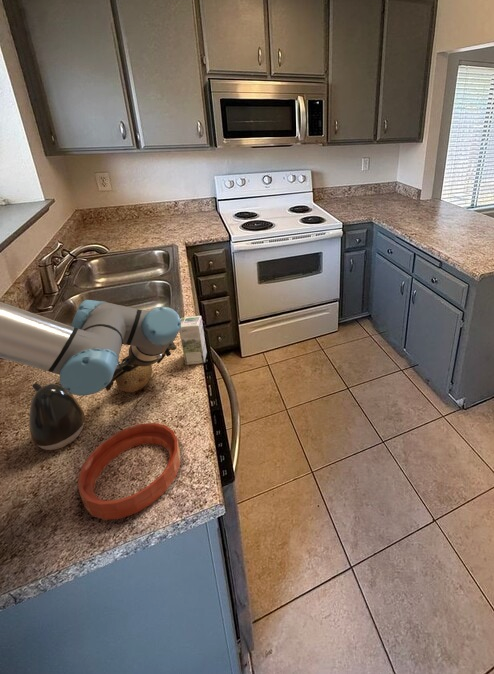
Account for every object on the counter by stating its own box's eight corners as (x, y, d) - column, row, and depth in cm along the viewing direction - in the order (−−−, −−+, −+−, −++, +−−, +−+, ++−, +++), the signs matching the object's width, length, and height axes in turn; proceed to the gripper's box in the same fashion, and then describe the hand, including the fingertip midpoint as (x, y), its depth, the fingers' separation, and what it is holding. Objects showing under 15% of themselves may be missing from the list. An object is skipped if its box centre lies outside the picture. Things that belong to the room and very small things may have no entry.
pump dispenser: (72, 415, 91) (56, 366, 86) (97, 430, 87) (82, 379, 82) (26, 447, 83) (6, 395, 77) (52, 465, 78) (32, 411, 73)
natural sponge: (148, 400, 96) (141, 370, 92) (113, 404, 95) (105, 373, 91) (159, 377, 104) (153, 348, 101) (127, 380, 103) (120, 351, 100)
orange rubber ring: (73, 538, 64) (66, 520, 63) (94, 455, 80) (89, 438, 79) (181, 500, 71) (177, 482, 69) (180, 429, 87) (177, 413, 85)
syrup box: (207, 353, 114) (201, 314, 109) (204, 365, 109) (198, 324, 104) (189, 355, 113) (182, 316, 108) (185, 368, 108) (177, 326, 103)
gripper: (98, 390, 74) (88, 412, 88) (203, 335, 92) (181, 360, 106) (82, 359, 76) (75, 385, 90) (189, 310, 94) (169, 338, 108)
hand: (132, 371), depth 98 cm, fingers open, 13 cm apart
